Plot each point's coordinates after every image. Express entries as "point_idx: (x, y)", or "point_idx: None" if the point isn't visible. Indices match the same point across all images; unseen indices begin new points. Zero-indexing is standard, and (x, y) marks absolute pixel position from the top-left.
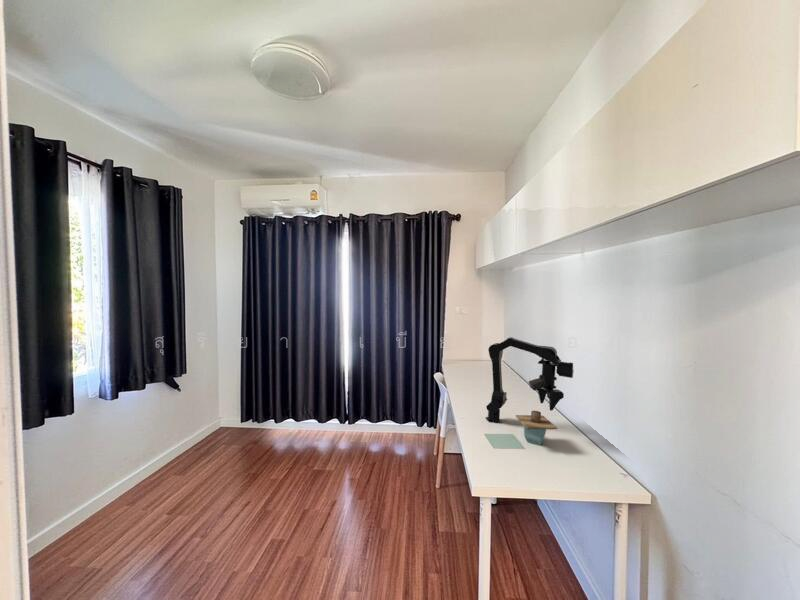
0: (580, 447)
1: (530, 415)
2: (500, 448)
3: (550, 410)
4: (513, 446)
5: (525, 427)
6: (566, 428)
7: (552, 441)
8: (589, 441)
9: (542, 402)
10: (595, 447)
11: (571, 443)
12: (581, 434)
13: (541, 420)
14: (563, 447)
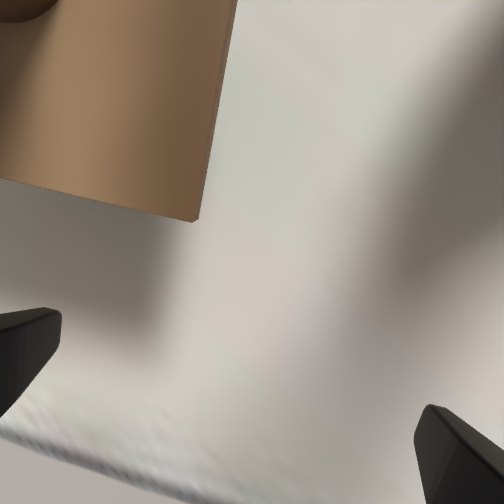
0: None
1: (223, 7)
2: None
3: (51, 312)
4: None
5: None
6: (309, 466)
7: (140, 215)
8: (113, 453)
9: (421, 441)
10: (40, 425)
11: (99, 326)
12: (207, 485)
13: (24, 66)
14: (50, 228)
